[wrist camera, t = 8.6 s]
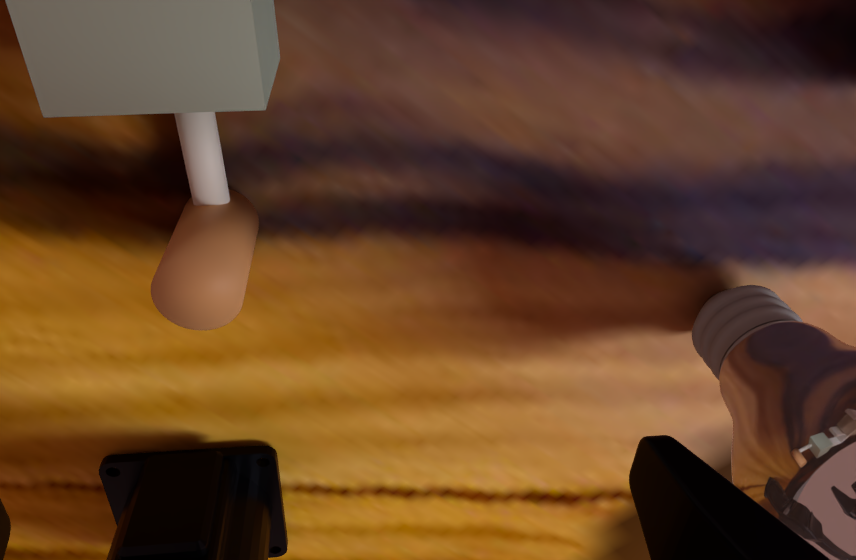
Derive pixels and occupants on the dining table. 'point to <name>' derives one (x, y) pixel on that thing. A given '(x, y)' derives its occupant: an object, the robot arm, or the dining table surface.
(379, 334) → the dining table surface
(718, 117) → the dining table surface
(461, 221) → the dining table surface
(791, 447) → the light bulb
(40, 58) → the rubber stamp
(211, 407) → the dining table surface
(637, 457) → the robot arm
